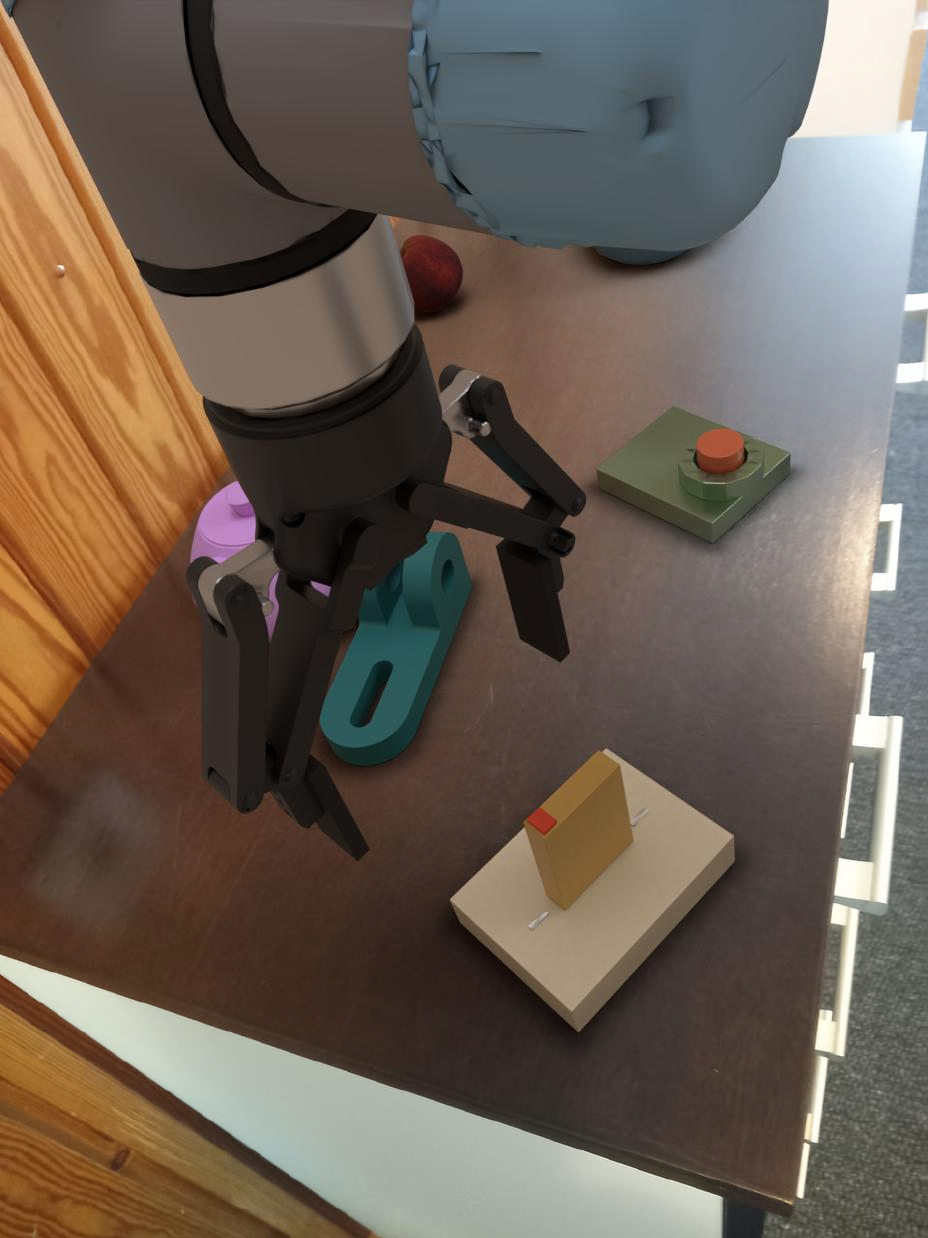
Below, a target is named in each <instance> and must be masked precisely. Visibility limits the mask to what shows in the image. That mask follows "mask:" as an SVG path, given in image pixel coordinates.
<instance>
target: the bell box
mask: <svg viewBox="0 0 928 1238" xmlns="http://www.w3.org/2000/svg"><path fill="white" fill-rule="evenodd" d="M714 429H730V430H734V431H736V432H738V433H739V434H740V435H741V436H742V438H743V440H744V462H743V464H742V465H741V466H740V467H739V468H738V469H737V470H734V471H731V472H728V473H725V474H710V473H707V472H705V471H703V470H702V469H701V468H700V467H699V465H698V463H697V447H696V444H697V441H698V439H699V438H700V436H701V435H703V434H704V433H706V432H708V431H711V430H714ZM791 454H792V453H791V452H790V451H788V450H785V449H783V448H779V447H777V446H775V445H773V444H769V443H767V442H765V441H763V440H760V439H757V438H755V437H753V436H751V435H748V434H746V433H743V432H741V431H739V430H738V431H737V430H735V429H732V428H730V427H728V426H725V425H722V424H720V423H717V422H714V421H712V420H709V419H707V418H705V417H701V416H699V415H697V414H694V413H692V412H689V411H686V410H684V409H682V408H680V407H677V406H675V405H672V406H671V407H670V408H668V409H667V410H666V411H665V412H664V413H662V414H661V415H660V416H659V417H657V418H656V419H655V420H654V421H653V422H652V423H650V424H649V425H647V427H645V428H644V429H643V430H641V432H640V433H638V434H636V436H634V437H633V438H632V439H630V441H629V442H627V443H626V444H625V445H624V446H622V447H621V448H620V449H619V450H617V451H616V452H615V453H614V454H612V455H611V456H610V457H609V458H608V459H606V460H605V461H604V462H603V463H602V464H600V465H599V466H598V467H597V468H596V476H597V483H598V488H599V489H600V490H601V491H604V492H605V493H608V494H609V495H611V496H613V497H617V498H618V499H620V500H621V501H624V502H626V503H628V504H630V505H632V506H635V507H637V508H639V509H640V510H642V511H645V512H647V513H648V514H651V515H652V516H655V517H657V518H659V519H661V520H663V521H665V522H667V523H669V524H671V525H673V526H676V527H678V528H680V529H681V530H683V531H686V532H688V533H690V534H691V535H694V536H696V537H698V538H700V539H702V540H705V541H706V542H709V543H711V544H715V542H717V541H718V540H720V539H721V537H722V536H723V535H725V534H726V533H727V532H728V531H729V530H730V529H731V528H732V527H733V526H735V525H736V524H737V523H738V522H739V521H740V520H741V519H742V518H744V516H745V515H746V514H748V513H749V512H750V511H751V510H752V509H753V508H754V507H755V506H756V505H758V504H759V503H760V502H761V501H762V500H763V499H764V498H765V497H766V496H767V495H769V494H770V493H771V492H772V491H773V490H774V489H775V488H776V487H778V485H779V484H781V482H783V481H784V480H785V479H786V478H787V477H788V476H789V475H790V474H791Z"/></svg>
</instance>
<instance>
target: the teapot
mask: <svg viewBox="0 0 928 1238" xmlns="http://www.w3.org/2000/svg"><path fill="white" fill-rule="evenodd" d="M255 527H256V522H255V514H254V510H253V508H252V506H251V504H250V502H249V500H248V499H247V497H246V495H245V494H244V492H243V490H242V488H241V486H240V485H239V483H238V481H237V480H236V481H234V482H232V483H230V484H228V485H226V486H225V487H224V488H222V489H220V490H219V491H218V492H217V493H216V494H214V496H212V497H211V499H210V500H209V501H208V502H207V503H206V504H205V506H204V507H203V509H202V511H201V513H200V515H199V518H198V520H197V523H196V527H195V530H194V535H193V540H192V544H191V551H190V559H189V560H190V561H189V564H190V563H191V562H193V561H194V560H195V559H196V558H199V557H201V556H208V557H210V558H212V559H214V560H215V561H217V562H218V563H222V562H223V561H225V560H226V559H228V558H230V557H231V556H233V555H234V554H236V553H237V552H239V551H241V550H242V549H244V548H245V547H247V546H248V545H250V544H252V543H253V542H255ZM278 573H279V572H278ZM278 573H277V574H276V575H275V576H274V578H273V579H272V581H271V583H270V587H269V600H270V601H272V602H273V603H274V610H273V612H272V613H271V614H270V615H269V616H266V617H265V620H266V623H267V627H268V634H269V645H270V642H271V638H272V634H273V630H274V626H275V622H276V618H277V614H278V610H279V605H278V602H277V599H276V597H275V585H276V581H277V577H278ZM311 583H312V586H313V587H314V588H315V589H317V590H318V591H320V592H322V593H323V594H325V595H326V596H329V592H330V589H331V587H329V586H326V585H323V584H319V583H316V582H313V581H311ZM191 597H192V600H193V602H194V604H195V606H196V607H197V605H196V603H195V600H194V598H193V595H192V594H191Z"/></svg>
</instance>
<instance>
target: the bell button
mask: <svg viewBox="0 0 928 1238" xmlns="http://www.w3.org/2000/svg"><path fill="white" fill-rule="evenodd" d="M730 429H731V428H730ZM730 429H714V430H711V431H708V432H706V433H704V434H703V435H701V436H700V438H699V439H698V441H697V444H696V447H697V463H698V465H699V467H700V468H701V469H702V470H703V471H705V472H707V473H710V474H725V473H728V472H731V471H734V470H737V469H738V468H739V467H740V466H741V465H742V464H743V462H744V440H743V438H742V436H741V435H740V434H739V433H738V432H739V431H738V432H736V431H737V430H735V429H732V430H730ZM734 430H735V431H734Z"/></svg>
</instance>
